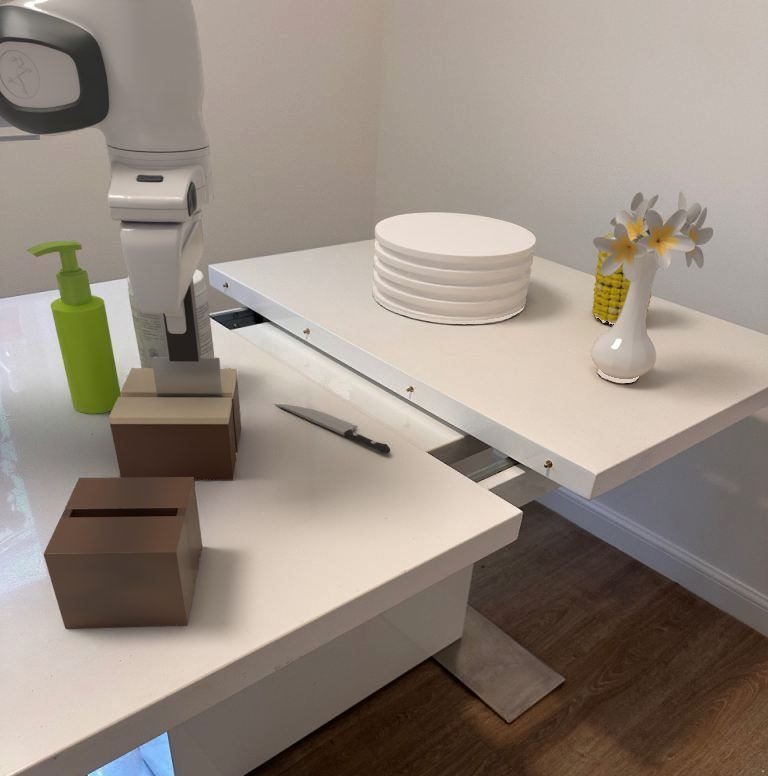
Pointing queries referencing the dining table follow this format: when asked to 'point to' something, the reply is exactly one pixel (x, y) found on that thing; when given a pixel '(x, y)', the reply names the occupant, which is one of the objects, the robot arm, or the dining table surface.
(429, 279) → the plate stack
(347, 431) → the chef's knife
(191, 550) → the knife block
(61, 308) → the soap dispenser
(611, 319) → the food
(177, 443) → the cake slice
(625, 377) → the flower vase
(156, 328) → the supplement tub
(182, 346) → the knife
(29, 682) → the dining table surface
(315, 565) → the dining table surface
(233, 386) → the cake
